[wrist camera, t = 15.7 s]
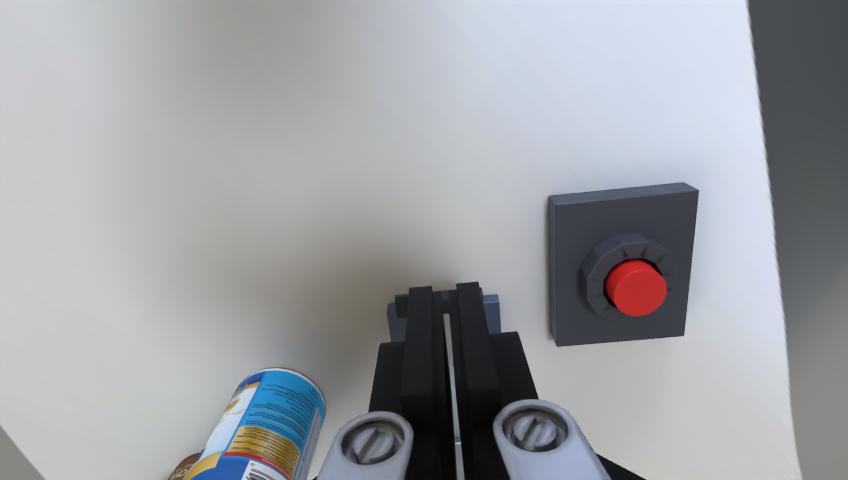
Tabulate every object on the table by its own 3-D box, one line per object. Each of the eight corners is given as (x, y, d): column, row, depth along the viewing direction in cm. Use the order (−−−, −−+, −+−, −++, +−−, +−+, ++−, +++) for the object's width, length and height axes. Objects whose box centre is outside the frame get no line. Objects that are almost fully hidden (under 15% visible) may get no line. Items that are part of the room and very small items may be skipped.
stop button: (606, 261, 34) (614, 272, 33) (657, 257, 34) (669, 267, 33) (604, 306, 36) (613, 318, 34) (654, 301, 36) (665, 314, 34)
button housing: (548, 195, 36) (561, 212, 33) (684, 181, 36) (713, 197, 32) (550, 332, 41) (562, 360, 37) (671, 321, 40) (696, 349, 37)
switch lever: (397, 291, 32) (393, 298, 30) (480, 284, 32) (483, 290, 29) (415, 468, 33) (413, 489, 31) (496, 462, 33) (500, 483, 30)
